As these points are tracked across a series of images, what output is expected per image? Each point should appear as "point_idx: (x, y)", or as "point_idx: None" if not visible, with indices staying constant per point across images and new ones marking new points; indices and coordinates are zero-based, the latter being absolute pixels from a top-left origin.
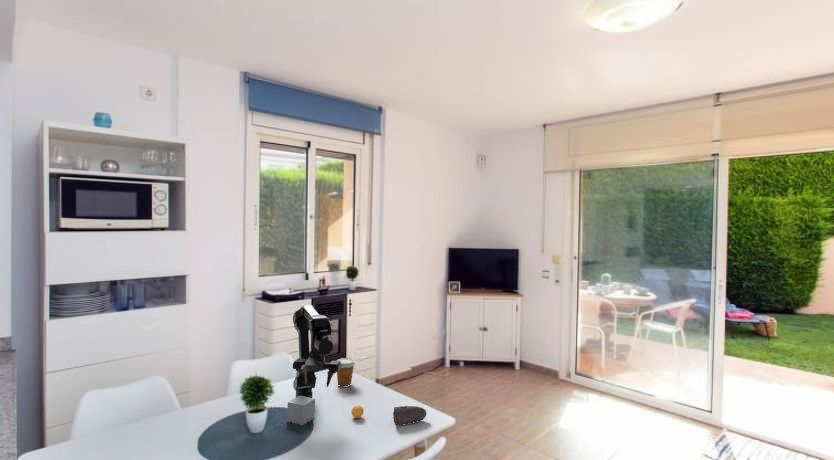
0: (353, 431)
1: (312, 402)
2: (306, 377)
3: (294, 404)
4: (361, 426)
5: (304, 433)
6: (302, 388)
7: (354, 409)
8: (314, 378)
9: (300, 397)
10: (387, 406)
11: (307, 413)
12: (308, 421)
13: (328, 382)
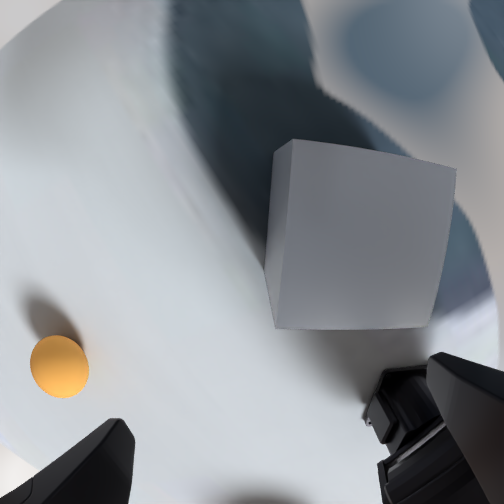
0: (12, 216)
1: (277, 281)
2: (473, 450)
3: (394, 156)
4: (13, 275)
5: (209, 75)
6: (437, 425)
7: (47, 355)
8: (393, 502)
9: (410, 297)
10: (62, 447)
11: (276, 200)
12: (269, 209)
13: (66, 455)
